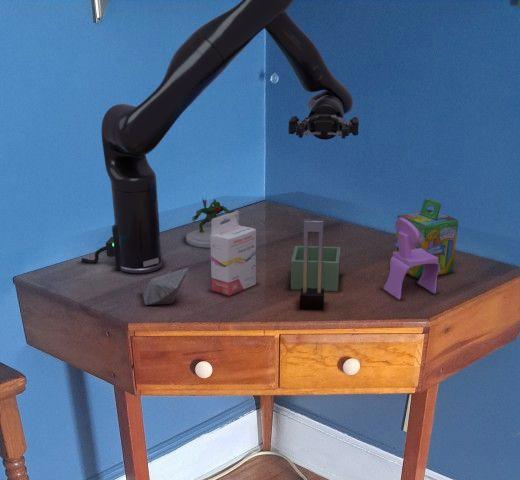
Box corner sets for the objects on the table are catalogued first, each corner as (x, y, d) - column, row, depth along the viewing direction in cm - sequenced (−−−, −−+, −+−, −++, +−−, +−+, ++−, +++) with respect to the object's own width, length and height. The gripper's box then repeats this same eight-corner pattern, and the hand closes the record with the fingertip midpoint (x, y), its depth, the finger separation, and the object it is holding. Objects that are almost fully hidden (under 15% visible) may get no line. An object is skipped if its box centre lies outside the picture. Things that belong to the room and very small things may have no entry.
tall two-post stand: (299, 309, 153) (301, 221, 145) (301, 302, 156) (302, 216, 148) (322, 310, 153) (325, 222, 145) (323, 303, 156) (326, 216, 148)
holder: (290, 289, 162) (291, 260, 159) (294, 273, 170) (295, 245, 168) (337, 291, 161) (338, 262, 158) (339, 274, 169) (340, 247, 167)
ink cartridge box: (229, 297, 159) (227, 223, 152) (211, 291, 162) (208, 219, 155) (257, 284, 165) (256, 213, 158) (239, 279, 167) (237, 209, 161)
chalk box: (391, 268, 172) (396, 199, 166) (423, 260, 177) (429, 193, 170) (421, 281, 166) (427, 210, 159) (454, 272, 170) (461, 203, 163)
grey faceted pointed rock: (124, 301, 154) (134, 273, 160) (146, 324, 157) (154, 295, 164) (173, 275, 149) (181, 246, 155) (195, 298, 152) (201, 270, 159)
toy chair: (440, 295, 159) (448, 220, 152) (401, 301, 156) (407, 225, 149) (418, 280, 166) (424, 209, 159) (380, 286, 163) (385, 213, 156)
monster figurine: (198, 250, 183) (196, 206, 179) (178, 236, 193) (175, 193, 188) (245, 242, 188) (245, 199, 184) (223, 228, 198) (222, 187, 193)
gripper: (293, 99, 174) (286, 112, 160) (360, 100, 172) (359, 113, 158) (293, 135, 178) (286, 151, 163) (358, 136, 176) (357, 152, 162)
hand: (322, 132), depth 161 cm, fingers open, 8 cm apart
